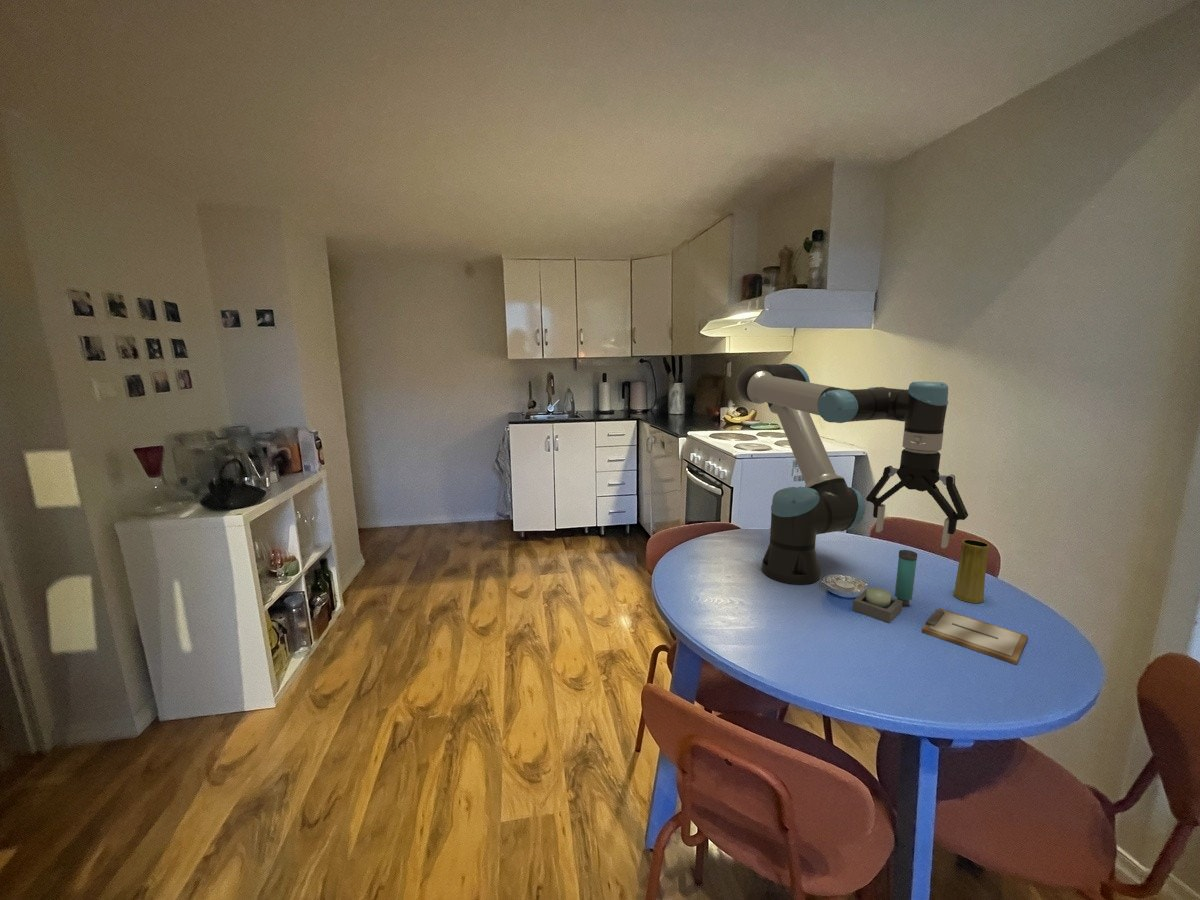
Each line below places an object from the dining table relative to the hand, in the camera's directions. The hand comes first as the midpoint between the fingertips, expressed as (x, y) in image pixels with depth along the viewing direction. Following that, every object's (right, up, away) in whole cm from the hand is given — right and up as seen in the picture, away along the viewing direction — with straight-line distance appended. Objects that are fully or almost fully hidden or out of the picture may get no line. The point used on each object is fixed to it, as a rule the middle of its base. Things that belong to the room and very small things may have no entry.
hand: (910, 538), depth 117 cm
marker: (0, -16, +3) cm, 17 cm away
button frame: (-8, -17, 0) cm, 19 cm away
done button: (-8, -15, -1) cm, 17 cm away
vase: (+18, -16, +6) cm, 24 cm away
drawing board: (+7, -19, -11) cm, 23 cm away
